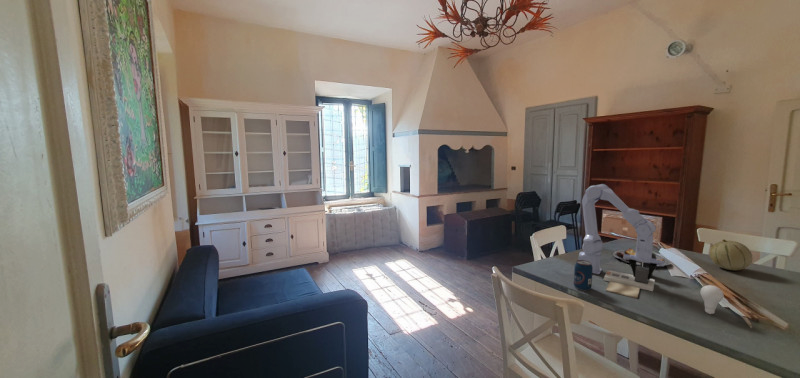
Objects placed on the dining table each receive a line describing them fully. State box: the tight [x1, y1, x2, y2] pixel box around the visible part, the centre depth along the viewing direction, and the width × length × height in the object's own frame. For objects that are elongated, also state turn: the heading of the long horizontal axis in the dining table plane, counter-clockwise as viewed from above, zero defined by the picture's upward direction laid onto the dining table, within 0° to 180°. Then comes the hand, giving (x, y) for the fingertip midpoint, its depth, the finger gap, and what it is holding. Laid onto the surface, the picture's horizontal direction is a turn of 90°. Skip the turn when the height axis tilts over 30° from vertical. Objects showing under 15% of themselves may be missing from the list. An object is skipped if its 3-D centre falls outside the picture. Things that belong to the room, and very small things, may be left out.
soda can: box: [573, 259, 593, 292], centre depth 140 cm, size 7×7×12 cm
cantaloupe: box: [709, 239, 753, 271], centre depth 157 cm, size 15×15×15 cm
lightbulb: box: [699, 284, 725, 315], centre depth 116 cm, size 6×6×11 cm
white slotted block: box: [603, 270, 656, 292], centre depth 145 cm, size 18×10×3 cm, turn 48°
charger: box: [635, 265, 649, 284], centre depth 142 cm, size 4×6×8 cm
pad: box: [605, 281, 641, 299], centre depth 137 cm, size 11×11×1 cm
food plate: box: [611, 248, 671, 267], centre depth 172 cm, size 25×23×4 cm
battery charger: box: [640, 253, 657, 277], centre depth 150 cm, size 7×4×11 cm, turn 119°
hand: (641, 277), depth 142 cm, fingers closed on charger, 4 cm apart
